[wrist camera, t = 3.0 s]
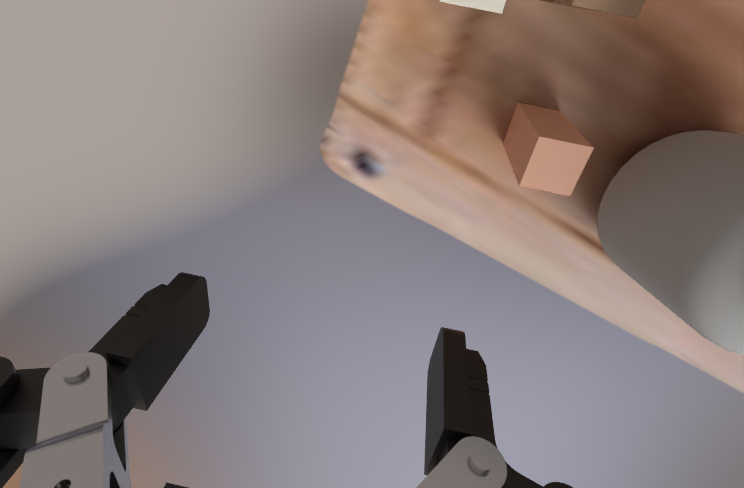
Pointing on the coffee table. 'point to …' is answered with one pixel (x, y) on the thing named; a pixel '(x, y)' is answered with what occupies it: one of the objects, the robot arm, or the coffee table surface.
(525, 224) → the coffee table surface
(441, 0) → the cream pillar
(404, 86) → the coffee table surface
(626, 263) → the jar
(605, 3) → the walnut pillar
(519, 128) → the terracotta pillar
